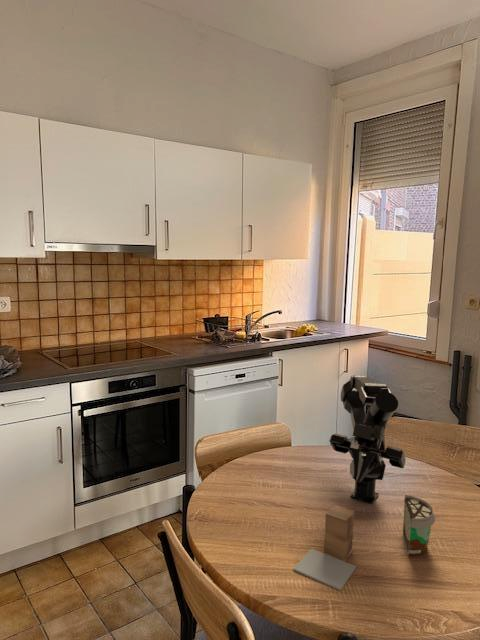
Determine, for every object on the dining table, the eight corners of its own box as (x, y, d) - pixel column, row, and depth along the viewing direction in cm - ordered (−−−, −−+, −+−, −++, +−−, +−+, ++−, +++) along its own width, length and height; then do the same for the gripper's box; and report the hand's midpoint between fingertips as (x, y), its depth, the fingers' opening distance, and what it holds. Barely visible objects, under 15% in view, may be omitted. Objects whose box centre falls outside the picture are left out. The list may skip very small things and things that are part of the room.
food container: (437, 564, 108) (440, 523, 107) (409, 560, 109) (412, 519, 108) (427, 533, 120) (430, 496, 119) (401, 530, 121) (404, 493, 120)
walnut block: (332, 543, 115) (334, 504, 113) (351, 551, 112) (354, 511, 111) (323, 553, 110) (325, 513, 109) (344, 561, 108) (346, 520, 106)
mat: (311, 550, 112) (311, 548, 112) (355, 568, 106) (356, 566, 106) (293, 570, 104) (293, 568, 104) (340, 590, 98) (340, 588, 98)
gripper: (334, 403, 126) (314, 457, 118) (405, 418, 115) (389, 478, 108) (343, 424, 133) (325, 475, 125) (411, 439, 123) (396, 496, 115)
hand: (357, 480), depth 118 cm, fingers closed
